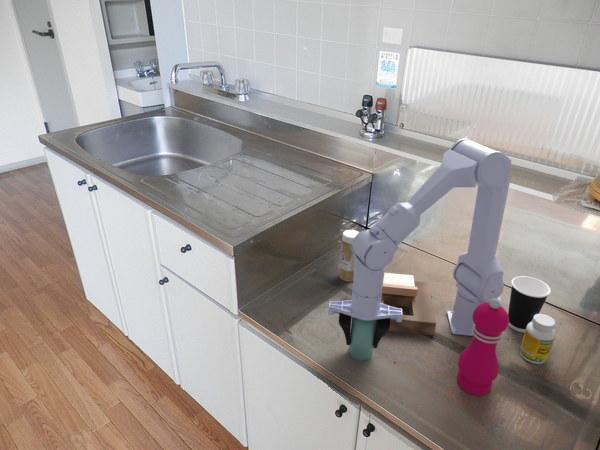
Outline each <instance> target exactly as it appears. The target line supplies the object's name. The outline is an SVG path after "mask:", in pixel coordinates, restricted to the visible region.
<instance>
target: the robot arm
mask: <svg viewBox="0 0 600 450" xmlns="http://www.w3.org/2000/svg"><path fill="white" fill-rule="evenodd" d="M511 164H512V160H511V158H510V157H508V156H507V155H506V154H505V153H503V152H502V151H497V150H494V149H492V148H490V147H487V146H485V145H482V144H480V143H477V142H475V141H474V140H472V139H470V138H459V139H458V140H457V141H455V142H454V143H453V144H452V145H451V147H450V148H449V149H448V150H447V151H445V152H444V153H443V156H442V159H441V164H440V165H439V166H438V168H436V170H435V171H434V172H433V173H432V174H431V175H430V176H429V178H428V179H427V180H425V182H424V183H423V184H422V185H421V186H420V188H418V189H417V191H416V192H415V193H414V194H413V195H412V196H411V197H410V199H408V201H406V202H405V201H404V202H397V203H395V204H394V205H391V207H390V208H389V209H388V210H387V212H386V213H385V214H384V215H383V216H382V217H381V218H380V219H379V220H378V221H377V222H376V223H375V224H374V225H373V226H372V227H370V228H369V229H366V230H365V229H364V230H361V231H359V233H358V234H357V235H356V236H355V238H354V240H353V243H351V244H350V248H351V250H352V252H353V253H354V255H355V267H354V278H353V281H352V290H351V291H352V292H351V299H347V300H339V301H336V300H335V301H332V300H330V301H328V302H329V303H328V310H327V311H328V312H327V315H329V316H333V315H334V314H338V315H339V316H338V323H339V326H340V328H341V330H342V331H343V334H344V337H345V341H346V343H345V344H346V345H347V346H350V337H351V326H352V317H355V318H358V319H361V320H376V328H375V334H374V342H373V349H377V348H378V345H379V343H380V340H381V339H382V338H383V336H384V335H385V334H386V333H387V332H389V331H388V330H389V328H390V319H394V320H396V322H402V316H403V315H404V314H403V310H402V309H401V308H395V307H391V306H388V305H385V304H382V303H381V296H382V288H383V280H384V273H386V271H385V270H386V267H387V266H389V265H390V264H391V262H392V261H393V259H394V256H395V253H396V252H397V250H398V248H399V247H398V246H399V245H400V244H401V243H403V241H404V240H405V239H406V238H407V237H409V236H410V235H411V234H412V233H413V232H414V231H415V230H416V229H417V228H418V227H419V226H420V224H421V216H422V214H424V213H425V212H426V211H427V210H428V209H430V208H431V207H432V206H433V205H435V204H436V203H437V202H438V201H439V200H441V199H442V198H443V197H445V196H446V194H448V193H449V192H450V191H452V190H453V189H455V188H476V187H477V190H476V191H477V192H476V198H475V204H474V209H473V217H472V221H471V229H470V234H469V235H470V236H469V240H468V247H467V248H468V249H467V251H465V252H462V253H461V254H459V256H458V260H457V263H456V264H455V266H454V268H453V271H452V277H453V279H454V280H455V282H456V284H455V286H456V287H457V291H456V295H455V299H454V305H453V309H452V310H447V311H446V315H447V319H448V323H449V328H450V331H451V332H450V333H451V334H452V335H460V336H466V337H467V336H469V337H473V336H474V335H473V333H472V329H473V325H474V322H473V312H474V310H475V309H476V307H477V306H479V305H480V304H482V303H487V302H489V301H490V300H491V299H494V298H495V299H497V300H499V302H500V306H501V307H502V305H503V303H502V297H501V295H502V293H503V291H504V288H505V282H504V280H503V276H504V271H503V269H502V267H501V266H500V264H499V262H498V259H497V257H496V256H497V255H496V254H497V249H498V245H499V239H500V235H501V229H502V223H503V218H504V214H505V209H506V202H507V199H508V192H509V187H510V182H511V175H510V170H511Z"/></svg>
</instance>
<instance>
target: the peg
mask: <svg viewBox="0 0 600 450" xmlns="http://www.w3.org/2000/svg"><path fill="white" fill-rule="evenodd" d="M375 326H376V320H361V319H358V318H355V317H352V316H351V328H350V329H351V335H350V345H349V349H348V351H349V352H348V353H349V356H350V357H351V358H353V359H354V360H357V361H361V362H363V361H367V360H369V359H371V358H372V356H373V350H374V348H373V342H374V334H375Z"/></svg>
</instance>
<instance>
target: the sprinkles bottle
mask: <svg viewBox="0 0 600 450" xmlns="http://www.w3.org/2000/svg"><path fill="white" fill-rule="evenodd" d="M358 233H360V231H358V230H355V229H345V230H344V231H343V232H342V235H341V236H342V237H341V239H342V247H341V255H340V256H341V257H340V271H339V279H340V280H342V281H343V282H349V283H350V282H353V278H354V267H355V255H354V253H353V252H352V250H351V248H350V244H351V243H353V240H354V238H355V236H356V235H357V234H358Z"/></svg>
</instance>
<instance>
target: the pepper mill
mask: <svg viewBox="0 0 600 450" xmlns="http://www.w3.org/2000/svg"><path fill="white" fill-rule="evenodd" d="M473 322H474V325H473V329H472V333H473V335H474V336H472V340H471V342H470V343H469V345H468V346H467V347H466V348H465V349H464V350H463V351H462V352H461V353H460V355H459V358H458V359H457V367H458V372H457V376H456V382H457V385H459V387H460V388H461V389H462V390H463V391H464V392H466V393H468V394H471V395H473V396H474V395H475V396H485V395H487V394H488V393H489V392H490V391H491V388H492V385H493V381H495V380H496V379H497V377H498V374H499V370H500V369H499V361H498V356H497V353H496V351H497V349H496V347H497V345H498V344H497V343H499V342H500V341H501V340H502V336H503V332H505V331H506V330H507V329H508V326H509V325H508V324H509V317H508V312H507V310H506V309H505V308H504V307H501V306H500V302H499V300H497V299H495V298H494V299H491V300H490V301H489V302H487V303H482V304H480V305H479V306H477V307H476V309H475V310H474V312H473Z"/></svg>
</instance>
